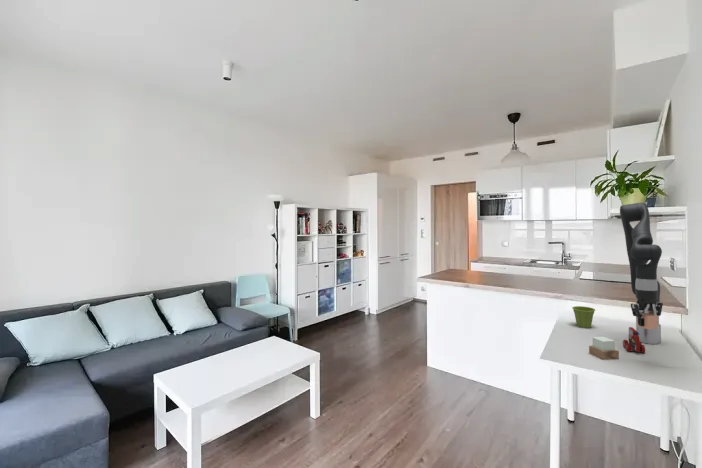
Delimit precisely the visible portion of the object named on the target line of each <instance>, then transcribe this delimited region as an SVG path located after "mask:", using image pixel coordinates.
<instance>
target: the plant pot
mask: <svg viewBox="0 0 702 468" xmlns="http://www.w3.org/2000/svg"><path fill="white" fill-rule="evenodd" d="M571 309H572V310H573V313H574V317H575V323H576V326H577V327H578V328H583V329H590V328H592V323H593V318H594V314H595V311H596V308H593V307H589V306H581V305H578V306H577V305H576V306H571Z"/></svg>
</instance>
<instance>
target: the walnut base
mask: <svg viewBox="0 0 702 468" xmlns="http://www.w3.org/2000/svg"><path fill="white" fill-rule="evenodd" d="M588 351H589V352H588V354H590V355H592V356H593V357H596V358H598V359H601V360H604V361H605V360H606V361H607V360H619V359H620V354H619V353H620V352H619V351H620V350H617V349H615V350H611V351H602V350H600V349H597V348H595V347H593V345H589V346H588Z"/></svg>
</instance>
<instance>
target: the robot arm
mask: <svg viewBox="0 0 702 468" xmlns="http://www.w3.org/2000/svg"><path fill="white" fill-rule="evenodd" d="M649 210H650V209H649V207H648V205H647V203H645V202H636V203H635V202H634V203H628V204H623V205H621V206H620V208H619V214H620V218H621V219H620V220H621V223H622V227H623V232H624V238H625V247H626V253H627V257H628V258H627V259H628V263H629V270H630V285H631V291H632V293H633V294H634V295H635V298H636V300H637V301H636V302H635V303H630V309H631V313H632V316H633V317H635V330H636V331H637V332H639V335H638V336H639V340H640V342H641V343H642V344H643V343H644V344H649V345H658V344H660V343H661V342H662V327H661V326H662V325H661V324H660V316H661V315H662V311H663V306H664V304H663V302H660V299H661V298H660V296H661V285H660V284H661V283H660V282H659V281H658V279H657V277H658V275H657V273H658V272H657V271H658V265H659V262H660V260H661V257H662V254H663V250H662V248H661V246H659V245H658V244H653V243H654V239H653V236H652V232H651V220H650V219H651V217H650V211H649ZM632 222H638V223H637V224H636V225H635V226H634V227H633V226H632V225H631V223H632ZM641 313H642V314H641ZM646 313H651V314H654V315H658V329H645V328H642V327H643V326H644V315H645V314H646ZM640 314H641V315H640ZM637 317H638V325H639V326H642V327H639V326H637Z"/></svg>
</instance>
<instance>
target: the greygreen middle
mask: <svg viewBox="0 0 702 468" xmlns="http://www.w3.org/2000/svg"><path fill="white" fill-rule="evenodd" d="M615 342H616V341H615V340H614V339H610V338H608V337H605V336H595V337H594V336H592V346H593V347H595V348H597V349H600V350H602V351H611V350H616V347H615V346H616V345H615V344H616V343H615Z"/></svg>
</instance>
